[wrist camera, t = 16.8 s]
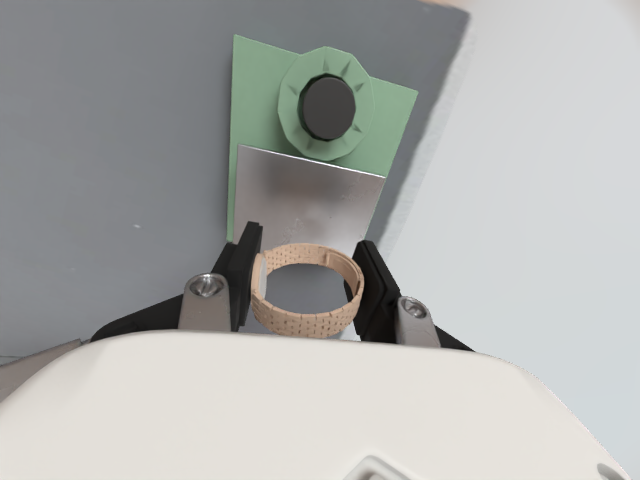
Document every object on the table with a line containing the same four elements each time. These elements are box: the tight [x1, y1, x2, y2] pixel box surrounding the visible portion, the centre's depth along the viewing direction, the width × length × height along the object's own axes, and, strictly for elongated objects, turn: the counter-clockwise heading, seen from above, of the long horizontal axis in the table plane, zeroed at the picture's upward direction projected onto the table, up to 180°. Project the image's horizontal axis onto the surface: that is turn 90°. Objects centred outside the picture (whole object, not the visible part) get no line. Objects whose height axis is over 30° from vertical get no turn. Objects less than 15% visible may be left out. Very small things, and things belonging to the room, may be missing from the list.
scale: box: [227, 34, 418, 242], centre depth 17 cm, size 14×12×3 cm
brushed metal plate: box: [233, 143, 386, 262], centre depth 17 cm, size 8×10×1 cm
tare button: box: [302, 77, 355, 139], centre depth 13 cm, size 3×3×2 cm
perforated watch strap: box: [251, 243, 364, 338], centre depth 10 cm, size 3×5×5 cm, turn 85°
